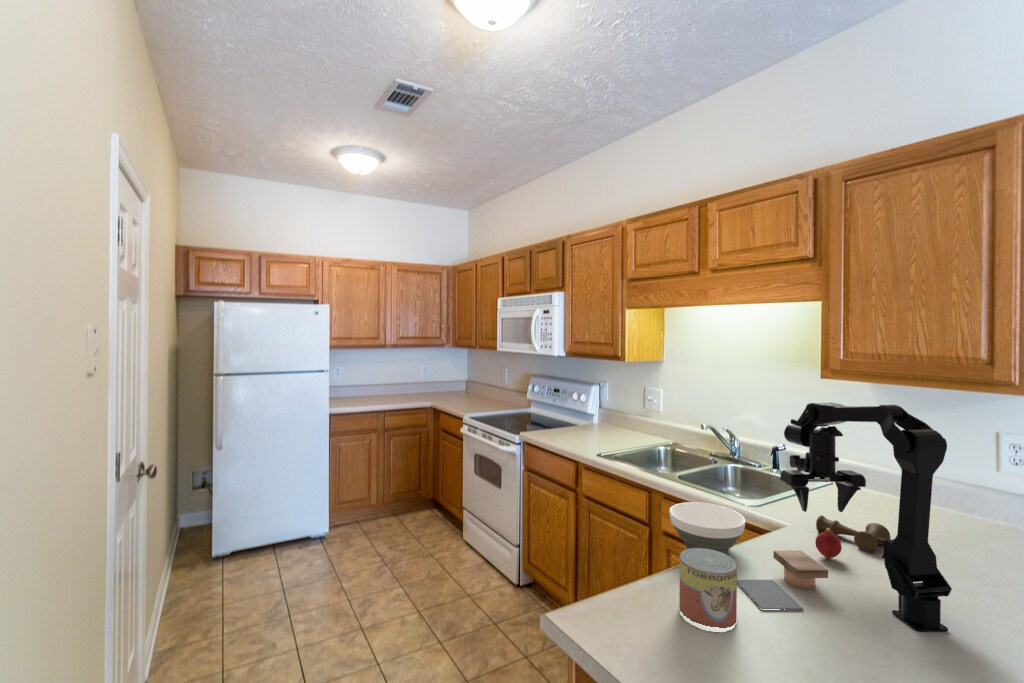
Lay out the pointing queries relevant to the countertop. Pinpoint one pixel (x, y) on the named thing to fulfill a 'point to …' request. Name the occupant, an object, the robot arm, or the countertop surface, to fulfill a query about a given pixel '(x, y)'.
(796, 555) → the cover
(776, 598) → the mat
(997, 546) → the countertop surface
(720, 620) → the canned food
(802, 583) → the peach rounded knob
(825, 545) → the onion
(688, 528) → the bowl
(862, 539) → the kendama
